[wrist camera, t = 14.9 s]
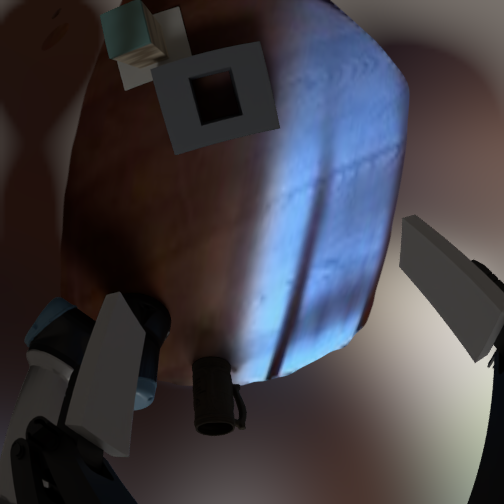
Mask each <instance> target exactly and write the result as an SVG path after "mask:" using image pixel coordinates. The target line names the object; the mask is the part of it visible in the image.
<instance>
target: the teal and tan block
mask: <svg viewBox="0 0 504 504" xmlns="http://www.w3.org/2000/svg"><path fill="white" fill-rule="evenodd" d="M100 18H101V23H102V28H103V33H104V37H105V42H106V46H107V50H108V54H109V58H110V59H113V60H116V61H119V62H122V63H125V64H128V65H131V66H134V67H137V68H140V69H141V68H144V67H146V66H149V65H152V64H155V63H157V62H160V61H163V60H166V59H169V55H168V51H167V47H166V43H165V39H164V35H163V31H162V27H161V25H160V24H159V22H158V21H157V20H156V19H155V17H154V16H153V15H152V13H151V12H150V11H149V10H148V8H147V7H146V6H145V5H144V3H143V2H142V1H141V0H135V1H132V2H129V3H127V4H124V5H122V6H120V7H117V8H115V9H113V10H110V11H108V12H106V13H104V14H102V15H100Z"/></svg>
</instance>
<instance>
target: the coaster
mask: <svg viewBox="0 0 504 504" xmlns="http://www.w3.org/2000/svg"><path fill="white" fill-rule="evenodd" d="M153 16H154V17H155V19H156V20H157V21H158V22H159V24H160V25H161V27H162V31H163V35H164V39H165V43H166V47H167V51H168V55H169V59H166V60H163V61H160V62H157V63H155V64H152V65H149V66H146V67H144V68H141V69H140V68H137V67H134V66H131V65H128V64H125V63H122V62H119V61H117V63H118V66H119V70H120V74H121V78H122V82H123V85H124V89H125V91H126V90H129V89H131V88H134V87H136V86H139V85H141V84H144V83H147V82H149V81H152V80H153V78H152V74H151V70H150V69H153V68H156V67H158V66H161V65H164V64H167V63H170V62H174V61H177V60H180V59H183V58H187V57H190V56H192V54H191V50H190V47H189V43H188V39H187V35H186V31H185V27H184V24H183V20H182V16H181V12H180V8H179V7H176V8H172V9H169V10H166V11H163V12H160V13H157V14H154V15H153Z"/></svg>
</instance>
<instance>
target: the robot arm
mask: <svg viewBox="0 0 504 504" xmlns="http://www.w3.org/2000/svg"><path fill="white" fill-rule="evenodd" d="M399 267H400V268H401V269H402V270H403V271H404V273H405V274H406V275H407V276H408V277H409V278H410V279H411V281H412V282H413V283H414V284H415V285H416V286H417V288H418V289H419V290H420V291H421V292H422V294H423V295H424V296H425V297H426V298H427V299H428V301H429V302H430V303H431V305H432V306H433V307H434V308H435V309H436V311H437V312H438V313H439V314H440V316H441V317H442V318H443V320H444V321H445V322H446V324H447V325H448V326H449V327H450V329H451V330H452V331H453V333H454V334H455V335H456V337H457V338H458V340H459V341H460V342H461V344H462V345H463V346H464V348H465V349H466V350H467V352H468V353H469V355H470V356H471V358H472V359H473V360H474V362H475V363H476V362H477V361H479V360H480V359H482V358H483V357H485V356H486V355H488V353H489V352H490V350H491V348H492V346H493V344H494V346H495V347H496V348H497V350H496V352H495V353H494V355H493V356H492V358H491V360H490V361H489V363H488V367H490V366H491V365H492V363H493V361H494V366H493V368H494V378H493V391H492V401H491V409H490V416H489V423H488V429H487V435H486V440H485V445H484V449H483V453H482V457H481V462H480V465H479V469H478V473H477V476H476V480H475V483H474V486H473V489H472V492H471V495H470V498H469V501H468V503H467V504H504V284H503V282H501V281H500V280H498V278H497V277H496V276H495V275H494V274H492V272H491V271H490V270H489V269H488V268H487V267H486V266H485V265H483V264H481V263H479V262H478V261H476V260H472V261H470V260H469V259H468V258H467V257H466V256H465V255H464V254H463V253H462V252H460V251H459V250H458V249H457V248H456V247H455V246H453V245H452V244H451V243H450V242H449V241H448V240H446V239H445V238H444V237H443V236H441V235H440V234H439V233H438V232H437V231H435V230H434V229H433V228H432V227H430V226H429V225H427V223H425V222H424V221H423V220H421V219H420V218H419V217H418V216H416V215H412V216H409V217H405V218H403V220H402V238H401V253H400V264H399ZM170 327H171V318H170V315H169V312H168V311H167V309H166V308H165V307H164V306H163V305H162V304H161V303H160V302H158V301H157V300H155V299H154V298H151V297H149V296H146V295H143V294H137V293H130V294H124V295H122V294H121V292H116V293H112V294H108V295H106V297H105V300H104V302H103V305H102V307H101V310H100V312H99V315H98V318H97V320H96V321H95V320H93V319H92V318H90V317H89V316H87V315H86V314H85V313H83V312H82V311H80V310H79V309H77V306H75V305H72V304H70V303H69V302H67V301H66V300H65V299H63V298H60V297H56V298H54V299H53V300H52V301H51V302H50V303H49V304H48V305H47V306H46V308H45V309H44V310H43V311H42V312H41V314H40V315H39V317H38V318H37V320H36V321H35V323H34V324H33V326H32V327H31V329H30V330H29V332H28V333H27V335H26V337H25V343H26V344H27V346H28V347H29V349H28V351H27V354H26V356H27V359H28V362H29V365H30V368H29V371H28V373H27V376H26V378H25V381H24V383H23V386H22V389H21V391H20V394H19V397H18V399H17V402H16V405H15V408H14V411H13V414H12V418H11V421H10V424H9V427H8V431H7V434H6V438H5V442H4V446H3V450H2V454H1V459H0V504H137V502H136V501H135V499H134V498H133V497H132V496H131V494H130V493H129V491H128V490H127V489H126V488H125V486H124V485H123V483H122V482H121V481H120V479H119V478H118V476H117V475H116V473H115V472H114V470H113V469H112V467H111V466H110V464H109V462H108V461H107V460H106V459H105V458H104V457H103V451H105V452H106V453H108V454H110V455H112V456H117V457H129V449H130V439H131V428H132V419H133V411H134V410H139V409H143V408H145V407H147V406H149V405H150V404H151V403H152V402H153V400H154V395H155V390H156V387H157V383H156V382H157V371H158V361H159V353H160V348H161V346H162V344H163V343H164V341H165V339H166V338H167V337H168V335H169V332H170Z"/></svg>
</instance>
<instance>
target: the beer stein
mask: <svg viewBox="0 0 504 504" xmlns="http://www.w3.org/2000/svg"><path fill="white" fill-rule="evenodd" d="M192 371H193V376H192V377H193V397H194V411H195V421H194V425H195V428H196V431H197V432H199V433H200V434H203V435H209V436H217V435H218V436H219V435H225V434H228V433H230V432H232V431H233V430H234V428H235V426H236V427H238V428H239V429H240V430H244V429H246V427H245V421H246V413H247V412H246V407H245V404H244V402H243V400H242V397H241V396H240V393H239V390H240V385H239V384H232V379H231V374H230V371H231V367H230V364H229V363H228V362H227V361H226V360H224V359H221V358H218V357H205V358H202V359H199V360H197V361H196V362H195V363H194V364H193V367H192ZM233 396H234V398H235V401H236V404H237V407H238V410H239V419H238V420H237V419H234V413H233V410H234V399H233Z"/></svg>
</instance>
